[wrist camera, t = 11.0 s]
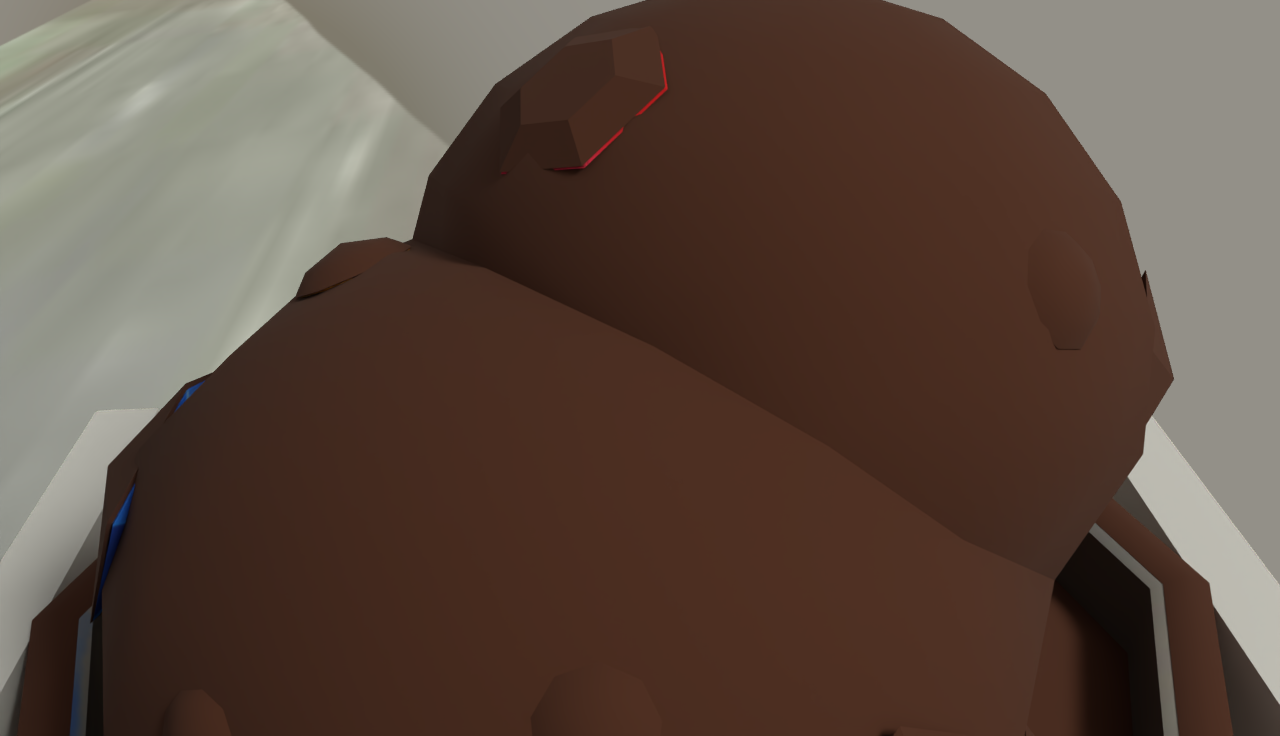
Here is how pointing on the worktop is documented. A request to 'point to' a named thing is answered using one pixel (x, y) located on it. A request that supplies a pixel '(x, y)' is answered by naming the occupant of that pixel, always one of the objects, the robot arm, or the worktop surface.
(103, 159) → the worktop surface
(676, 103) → the ice cream bowl
